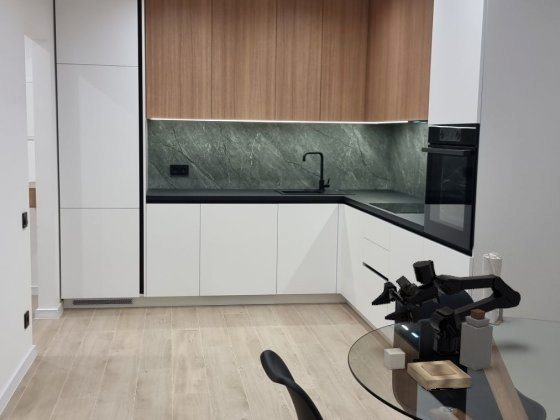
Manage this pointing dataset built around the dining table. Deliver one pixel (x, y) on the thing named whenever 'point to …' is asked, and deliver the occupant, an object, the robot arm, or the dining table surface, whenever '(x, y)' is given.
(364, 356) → the dining table surface
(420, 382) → the oak base
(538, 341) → the dining table surface
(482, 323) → the perfume bottle
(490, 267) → the skyscraper
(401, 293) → the robot arm
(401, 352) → the cream cube
